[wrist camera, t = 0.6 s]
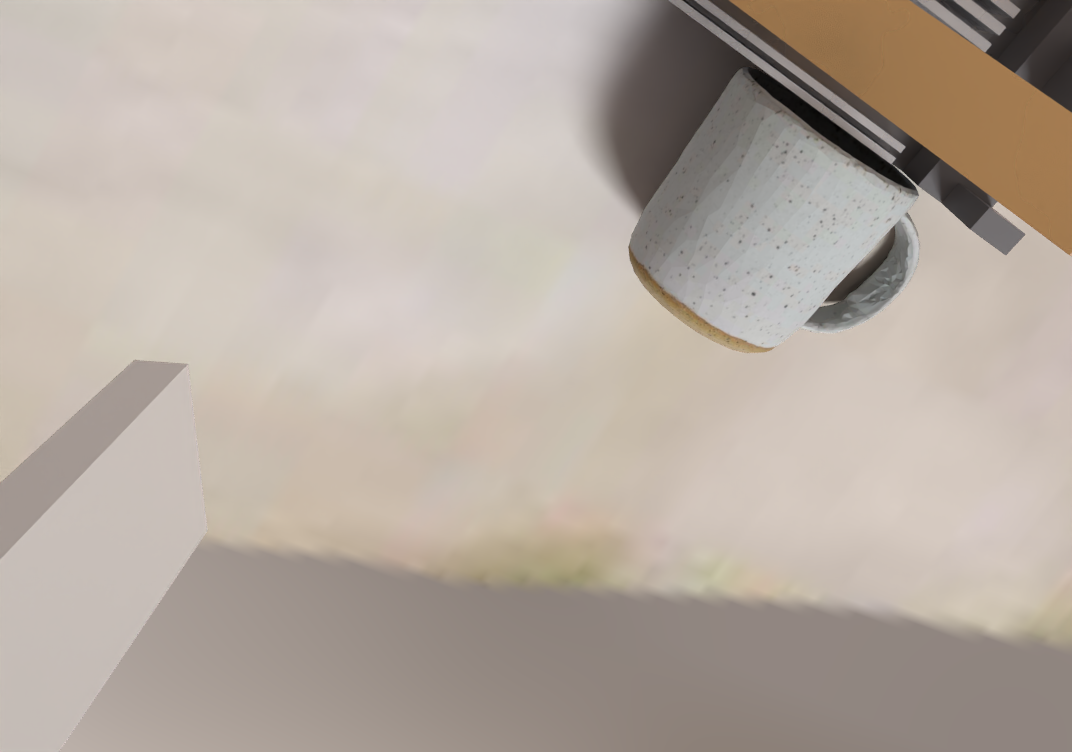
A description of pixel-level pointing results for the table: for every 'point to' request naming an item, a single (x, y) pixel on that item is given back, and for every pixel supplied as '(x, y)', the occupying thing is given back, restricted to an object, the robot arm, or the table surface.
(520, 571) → the table surface
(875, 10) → the orange long bar
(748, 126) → the ceramic mug
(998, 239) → the lug bar
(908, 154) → the gray cradle frame
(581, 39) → the table surface
